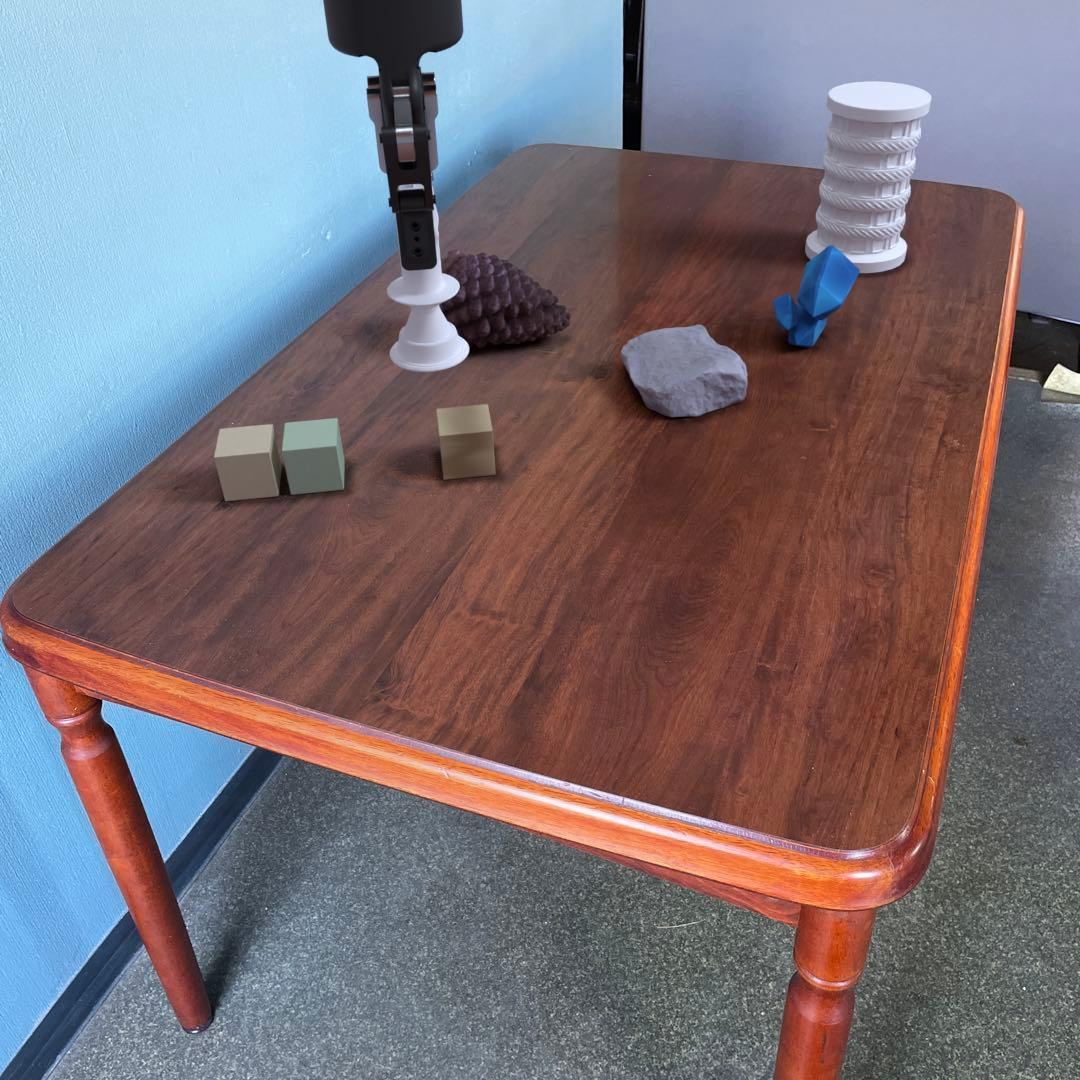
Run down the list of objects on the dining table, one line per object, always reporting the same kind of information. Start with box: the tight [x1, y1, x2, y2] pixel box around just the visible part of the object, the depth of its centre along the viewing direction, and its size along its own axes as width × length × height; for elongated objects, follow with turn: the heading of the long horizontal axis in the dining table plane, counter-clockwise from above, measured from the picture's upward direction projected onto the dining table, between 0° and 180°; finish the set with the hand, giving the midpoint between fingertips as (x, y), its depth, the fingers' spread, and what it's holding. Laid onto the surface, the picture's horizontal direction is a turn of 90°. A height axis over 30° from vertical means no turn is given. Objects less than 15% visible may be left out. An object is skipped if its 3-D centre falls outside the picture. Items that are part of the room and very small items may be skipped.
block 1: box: [213, 423, 283, 502], centre depth 91 cm, size 4×4×4 cm
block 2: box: [281, 417, 346, 496], centre depth 92 cm, size 4×4×4 cm
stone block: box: [620, 323, 749, 418], centre depth 103 cm, size 12×5×10 cm
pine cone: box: [439, 249, 572, 349], centre depth 110 cm, size 18×10×10 cm
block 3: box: [435, 403, 496, 481], centre depth 93 cm, size 4×4×4 cm
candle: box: [386, 184, 470, 373], centre depth 69 cm, size 5×5×12 cm
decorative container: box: [804, 80, 933, 274], centre depth 122 cm, size 12×12×18 cm
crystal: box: [772, 245, 861, 349], centre depth 109 cm, size 7×9×12 cm
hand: (419, 256), depth 68 cm, fingers closed on candle, 2 cm apart
